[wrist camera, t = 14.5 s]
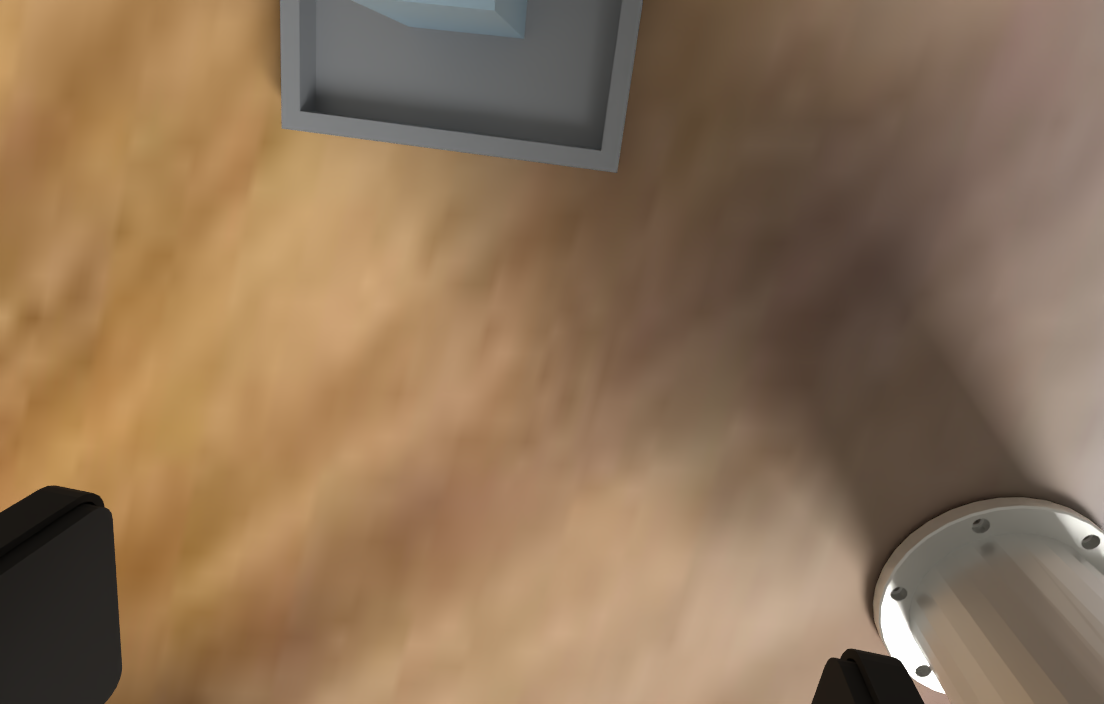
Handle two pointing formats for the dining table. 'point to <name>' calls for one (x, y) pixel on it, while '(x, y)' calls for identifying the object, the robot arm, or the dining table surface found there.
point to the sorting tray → (465, 80)
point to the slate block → (457, 15)
